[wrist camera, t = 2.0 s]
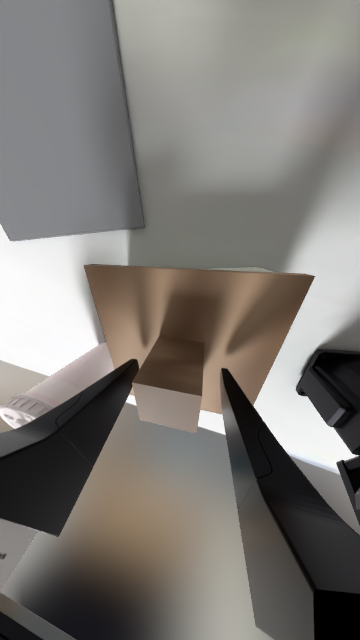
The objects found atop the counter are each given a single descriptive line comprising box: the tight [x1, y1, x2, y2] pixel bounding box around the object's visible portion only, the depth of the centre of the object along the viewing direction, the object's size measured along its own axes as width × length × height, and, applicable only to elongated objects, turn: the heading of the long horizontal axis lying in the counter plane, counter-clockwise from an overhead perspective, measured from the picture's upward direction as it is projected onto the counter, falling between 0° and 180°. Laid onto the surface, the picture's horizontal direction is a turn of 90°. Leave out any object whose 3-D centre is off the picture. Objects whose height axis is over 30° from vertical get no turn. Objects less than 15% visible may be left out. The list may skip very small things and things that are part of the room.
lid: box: [84, 264, 315, 433], centre depth 9 cm, size 13×13×5 cm
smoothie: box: [0, 342, 114, 429], centre depth 13 cm, size 6×6×14 cm
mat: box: [0, 0, 144, 241], centre depth 9 cm, size 15×15×1 cm
